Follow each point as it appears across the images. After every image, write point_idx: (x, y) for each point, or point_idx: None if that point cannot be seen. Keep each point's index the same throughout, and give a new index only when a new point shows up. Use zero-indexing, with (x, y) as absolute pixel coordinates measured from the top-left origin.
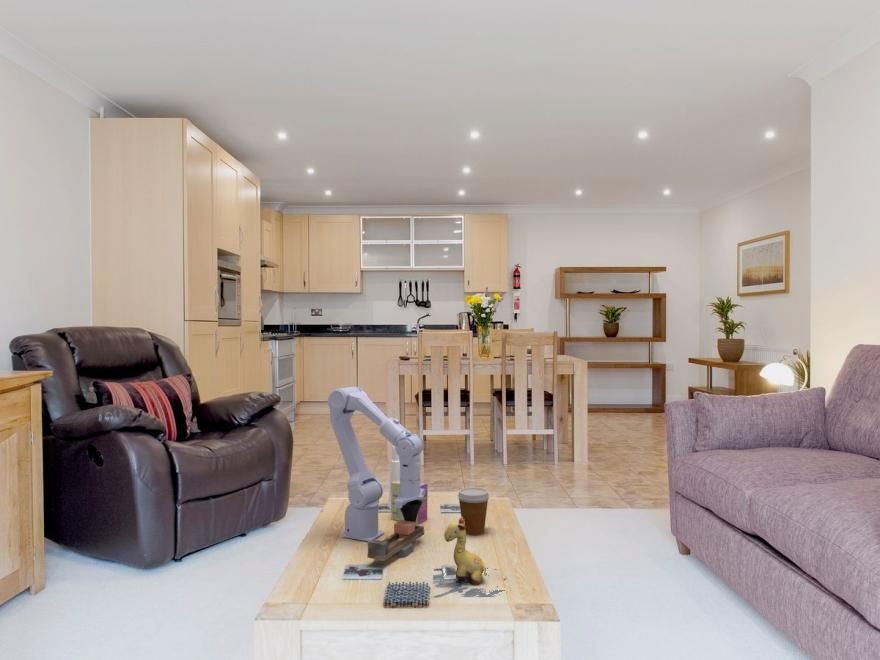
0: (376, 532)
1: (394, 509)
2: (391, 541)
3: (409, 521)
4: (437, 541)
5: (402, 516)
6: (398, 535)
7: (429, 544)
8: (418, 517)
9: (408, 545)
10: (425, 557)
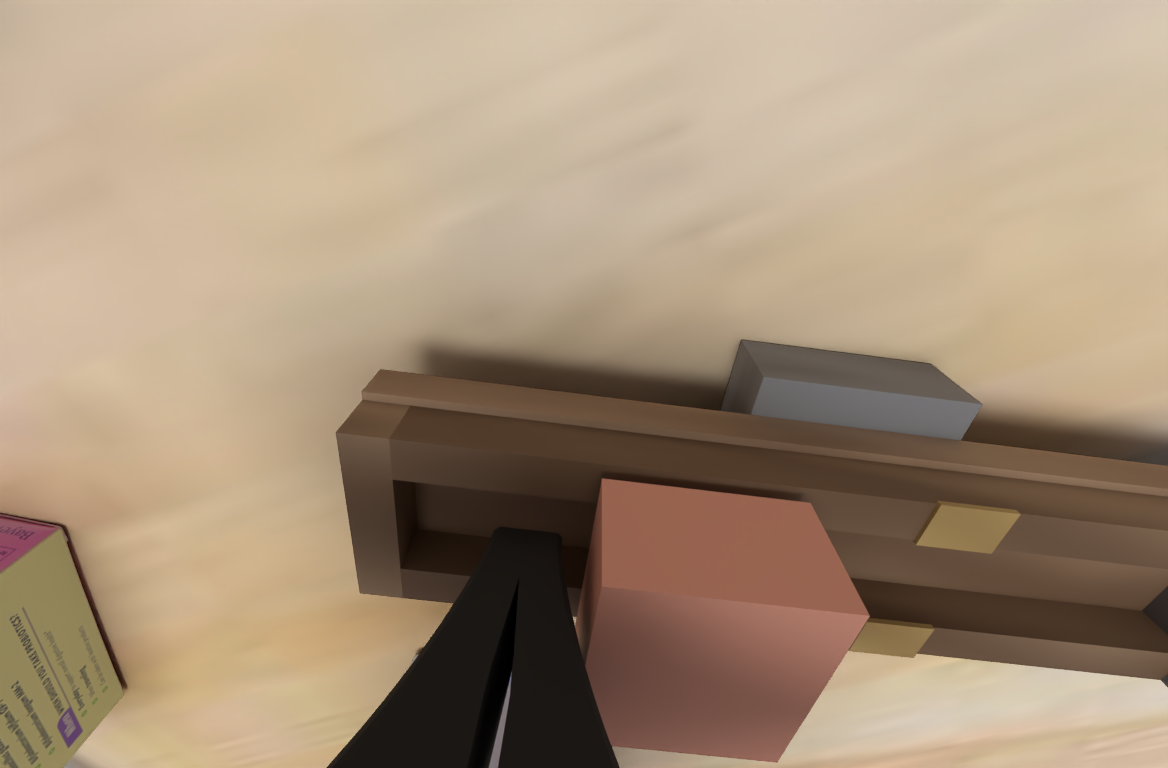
0: (508, 703)
1: (44, 763)
2: (857, 582)
3: (602, 654)
4: (335, 189)
5: (64, 668)
6: None
7: (472, 249)
8: None
9: (809, 412)
10: (907, 141)
